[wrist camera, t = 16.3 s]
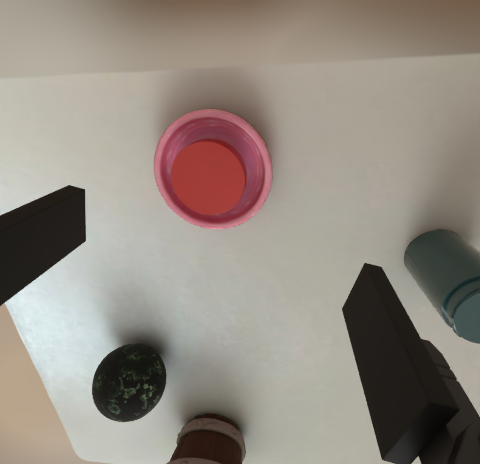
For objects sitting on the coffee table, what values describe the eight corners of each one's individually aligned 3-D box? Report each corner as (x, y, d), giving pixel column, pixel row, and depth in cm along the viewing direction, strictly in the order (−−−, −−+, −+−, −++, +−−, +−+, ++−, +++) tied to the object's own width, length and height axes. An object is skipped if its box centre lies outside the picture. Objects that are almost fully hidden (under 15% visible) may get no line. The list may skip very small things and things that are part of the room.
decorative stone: (149, 320, 44) (116, 379, 35) (187, 365, 48) (166, 429, 39) (102, 341, 48) (60, 399, 39) (140, 381, 51) (110, 444, 42)
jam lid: (214, 221, 33) (211, 229, 31) (162, 175, 31) (156, 180, 29) (262, 174, 30) (261, 179, 28) (207, 121, 28) (202, 123, 27)
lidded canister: (444, 218, 33) (512, 270, 23) (478, 256, 34) (555, 320, 24) (392, 254, 35) (433, 314, 26) (425, 288, 37) (476, 357, 27)
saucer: (158, 205, 36) (148, 215, 33) (168, 95, 31) (157, 95, 28) (258, 229, 36) (256, 241, 33) (286, 123, 30) (287, 126, 28)
